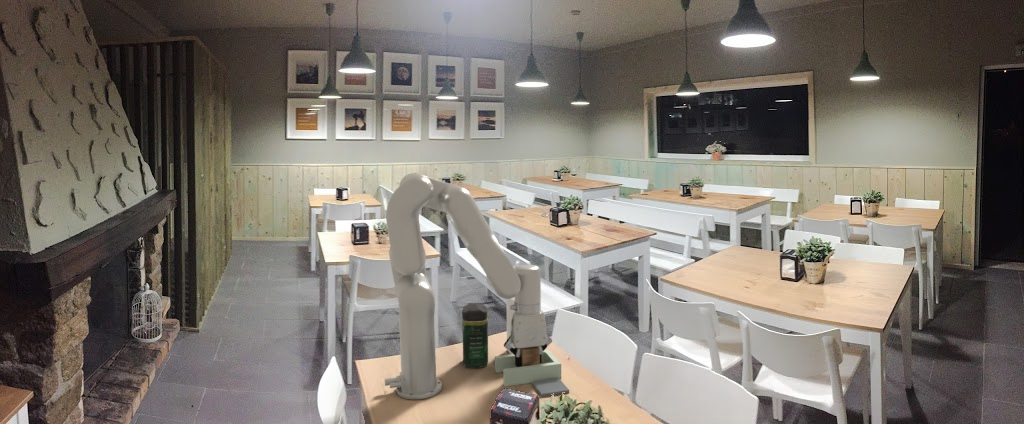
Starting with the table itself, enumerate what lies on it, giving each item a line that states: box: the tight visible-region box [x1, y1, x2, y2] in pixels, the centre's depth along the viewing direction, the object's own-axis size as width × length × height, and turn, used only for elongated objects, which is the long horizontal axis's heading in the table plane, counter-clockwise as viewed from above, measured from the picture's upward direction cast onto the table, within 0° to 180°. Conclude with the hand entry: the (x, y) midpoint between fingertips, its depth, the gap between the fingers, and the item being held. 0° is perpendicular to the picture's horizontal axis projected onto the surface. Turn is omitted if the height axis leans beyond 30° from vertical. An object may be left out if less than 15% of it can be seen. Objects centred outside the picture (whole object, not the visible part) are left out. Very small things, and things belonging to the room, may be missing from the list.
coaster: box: [531, 378, 570, 398], centre depth 151 cm, size 8×8×1 cm
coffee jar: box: [461, 302, 489, 369], centre depth 167 cm, size 10×8×19 cm
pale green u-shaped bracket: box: [494, 349, 562, 387], centre depth 160 cm, size 17×11×4 cm, turn 106°
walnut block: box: [520, 347, 540, 367], centre depth 159 cm, size 5×6×9 cm
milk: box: [505, 297, 515, 355], centre depth 175 cm, size 6×6×22 cm
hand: (528, 366), depth 160 cm, fingers closed on walnut block, 5 cm apart
